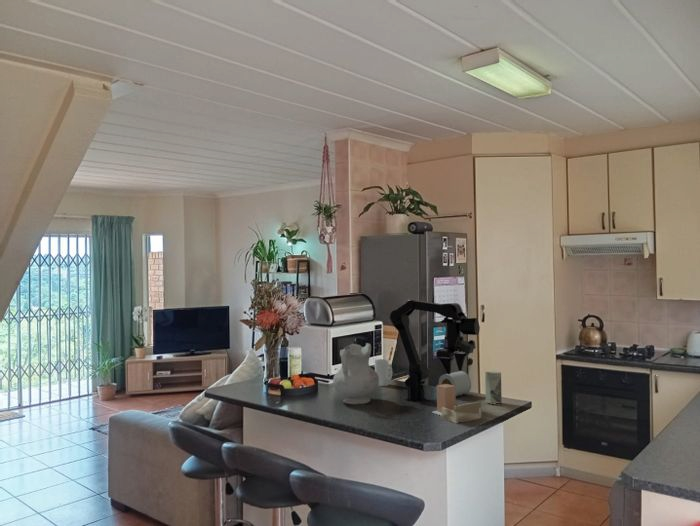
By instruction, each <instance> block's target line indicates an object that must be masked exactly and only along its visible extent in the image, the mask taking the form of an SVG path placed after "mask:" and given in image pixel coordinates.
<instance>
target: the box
mask: <svg viewBox="0 0 700 526" xmlns="http://www.w3.org/2000/svg"><path fill="white" fill-rule="evenodd" d="M484 375H485V379H484V380H485V382H484V383H485V385H484V386H485V403H486V402H488V403H491V404H494V403H502V402H503V400H502V399H503V398H502V372H501V371H497V370H488V371H485V372H484ZM488 403H487V404H488ZM494 405H495V404H494Z"/></svg>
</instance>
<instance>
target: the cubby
mask: <svg viewBox="0 0 700 526" xmlns="http://www.w3.org/2000/svg"><path fill="white" fill-rule="evenodd" d="M441 419H442V420H444V419H446V420H445V421H447V420H449V421H448V422H450V421H452V422H451V423H453V422H454V424H460V423H459V422H461V423H465V421H466V422H469V421H475V420H480V419H482V402H481V401H479V400H478V401H474V402H469V403H468V402H467V403H463V404H458V405H456V406H454V410H450V409H447V408H444V407H443V408H442V416H441Z"/></svg>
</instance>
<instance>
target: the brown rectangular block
mask: <svg viewBox="0 0 700 526" xmlns="http://www.w3.org/2000/svg"><path fill="white" fill-rule="evenodd" d="M456 397H457V396H455V386H453V385H449V384H443V385H438V384H437V385H436V411H437V412H440V413H442V408H443V407H444V408H447V409H450V410H454V406H457V405H456V404H457V403H456V402H457V398H456Z"/></svg>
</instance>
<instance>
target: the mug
mask: <svg viewBox="0 0 700 526" xmlns="http://www.w3.org/2000/svg"><path fill="white" fill-rule="evenodd" d="M374 371H376V372H377V374H378V377H379V385H378V387H387V386H389V385H390V383H389V381H391V380H392V377H393V368H392V363H389V359H386V358H378V359H374ZM389 371H390V373H389Z"/></svg>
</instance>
